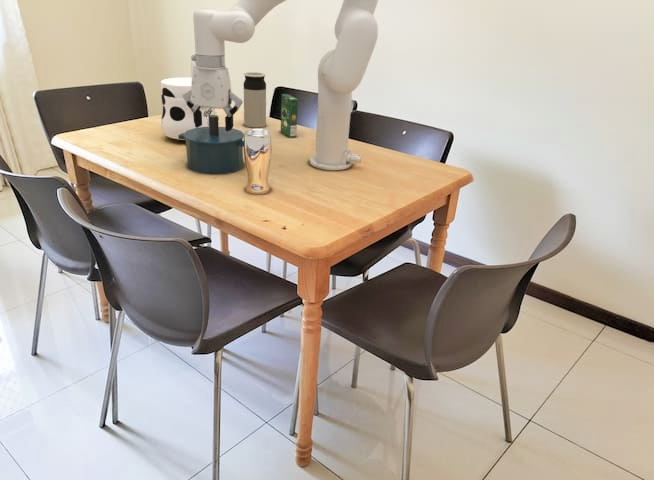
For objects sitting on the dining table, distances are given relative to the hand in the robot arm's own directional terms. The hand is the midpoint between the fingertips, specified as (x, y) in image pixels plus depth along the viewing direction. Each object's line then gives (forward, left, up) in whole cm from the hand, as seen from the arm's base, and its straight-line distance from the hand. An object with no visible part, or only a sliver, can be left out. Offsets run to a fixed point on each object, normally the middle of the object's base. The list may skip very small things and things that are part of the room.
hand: (213, 128), depth 141 cm
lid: (0, 0, -2) cm, 2 cm away
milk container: (+19, -22, -11) cm, 31 cm away
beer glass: (-18, +14, -11) cm, 25 cm away
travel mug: (+5, -47, -11) cm, 48 cm away
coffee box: (-10, -40, -11) cm, 43 cm away
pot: (0, 0, -11) cm, 11 cm away
